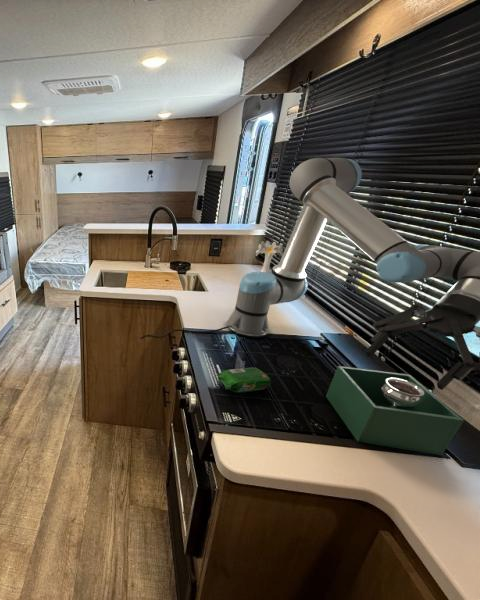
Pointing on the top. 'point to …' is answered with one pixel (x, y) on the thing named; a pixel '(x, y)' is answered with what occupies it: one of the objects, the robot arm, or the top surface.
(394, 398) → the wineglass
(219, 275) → the top surface
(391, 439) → the open green storage bin
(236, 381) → the snack package
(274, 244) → the flower vase
